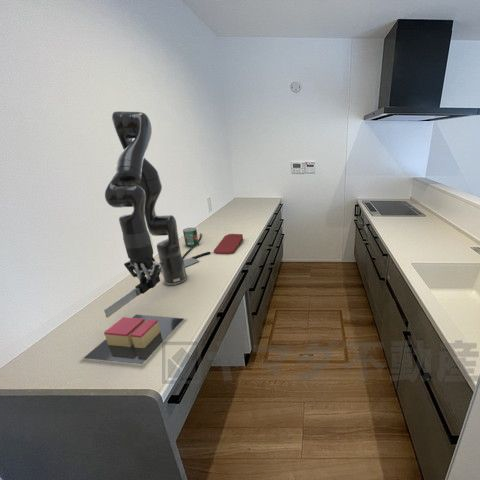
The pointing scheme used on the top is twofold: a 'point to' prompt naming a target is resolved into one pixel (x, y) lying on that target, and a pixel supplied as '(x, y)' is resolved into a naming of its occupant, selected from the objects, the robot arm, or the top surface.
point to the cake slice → (145, 333)
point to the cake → (123, 331)
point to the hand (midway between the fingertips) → (149, 286)
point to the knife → (129, 297)
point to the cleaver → (192, 259)
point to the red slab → (228, 244)
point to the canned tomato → (190, 237)
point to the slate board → (132, 352)
